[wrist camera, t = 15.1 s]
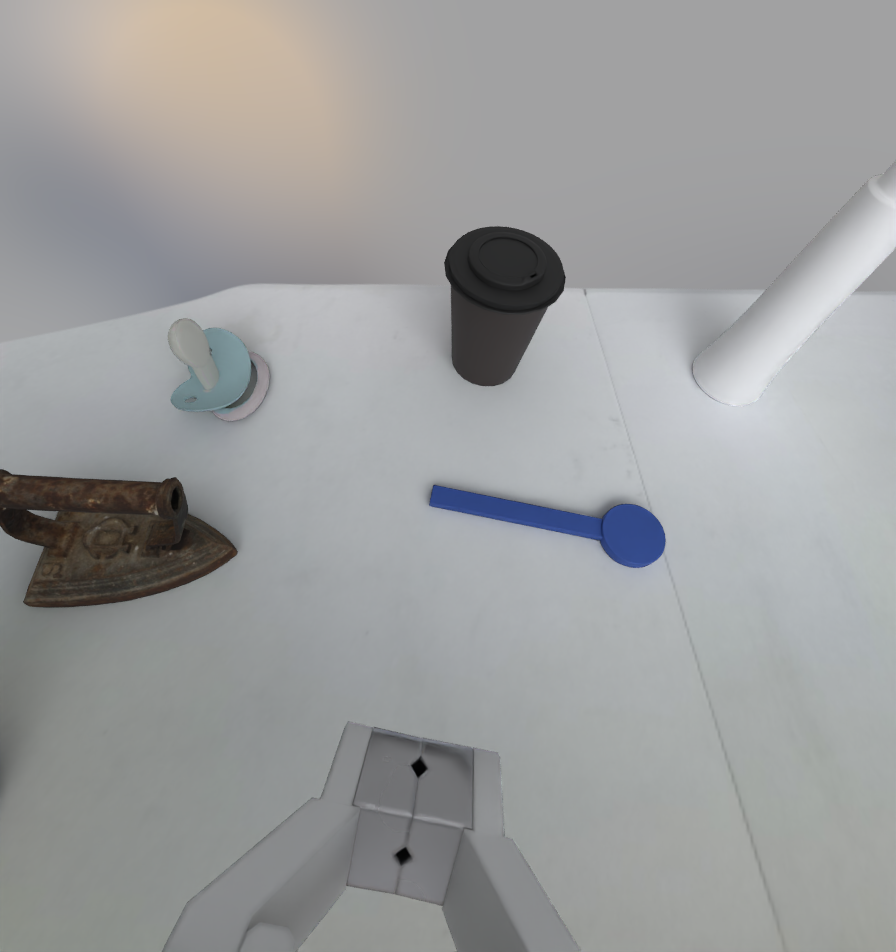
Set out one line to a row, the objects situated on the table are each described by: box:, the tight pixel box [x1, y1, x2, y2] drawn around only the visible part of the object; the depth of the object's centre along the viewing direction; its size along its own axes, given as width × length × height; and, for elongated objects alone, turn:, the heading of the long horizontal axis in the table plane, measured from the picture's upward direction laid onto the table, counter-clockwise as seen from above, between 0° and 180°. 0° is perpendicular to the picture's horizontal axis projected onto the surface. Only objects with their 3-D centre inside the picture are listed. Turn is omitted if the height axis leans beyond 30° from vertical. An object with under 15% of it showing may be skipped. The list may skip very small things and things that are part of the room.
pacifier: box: [168, 318, 270, 421], centre depth 33 cm, size 7×6×6 cm
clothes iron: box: [0, 469, 237, 607], centre depth 27 cm, size 7×11×10 cm, turn 91°
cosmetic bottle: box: [693, 160, 896, 406], centre depth 31 cm, size 6×6×22 cm
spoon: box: [429, 485, 666, 568], centre depth 33 cm, size 16×4×1 cm, turn 79°
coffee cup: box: [444, 227, 566, 386], centre depth 35 cm, size 8×8×10 cm
